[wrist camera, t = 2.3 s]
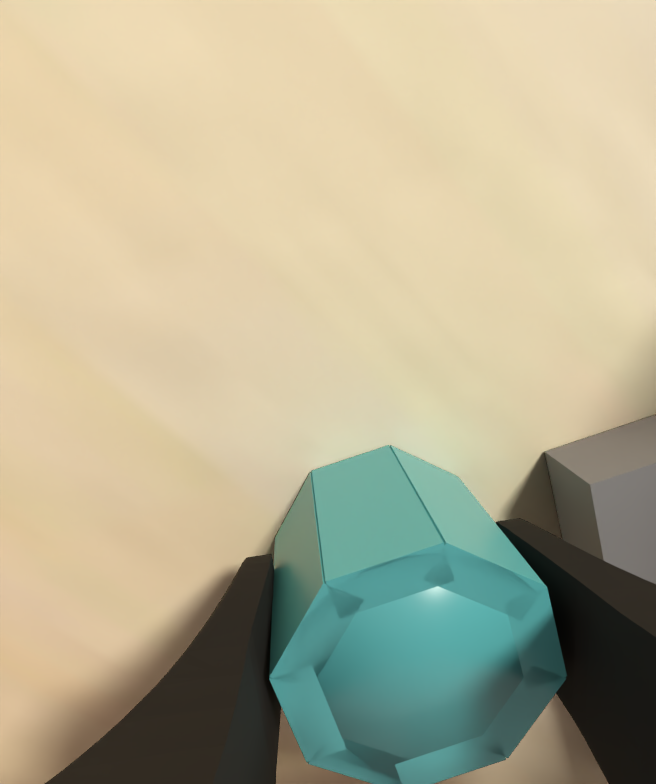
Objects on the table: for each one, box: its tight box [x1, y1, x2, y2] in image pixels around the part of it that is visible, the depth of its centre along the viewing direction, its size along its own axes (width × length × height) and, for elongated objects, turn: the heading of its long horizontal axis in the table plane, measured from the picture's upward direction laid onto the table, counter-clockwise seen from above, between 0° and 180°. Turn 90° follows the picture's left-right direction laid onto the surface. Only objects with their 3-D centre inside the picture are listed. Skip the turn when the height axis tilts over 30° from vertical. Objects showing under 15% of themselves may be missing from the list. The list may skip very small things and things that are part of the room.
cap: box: [269, 445, 567, 784], centre depth 11 cm, size 5×5×4 cm
